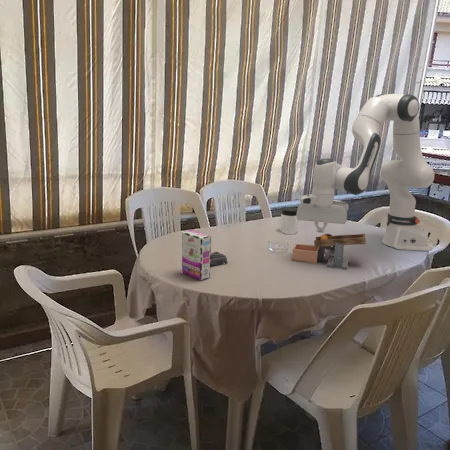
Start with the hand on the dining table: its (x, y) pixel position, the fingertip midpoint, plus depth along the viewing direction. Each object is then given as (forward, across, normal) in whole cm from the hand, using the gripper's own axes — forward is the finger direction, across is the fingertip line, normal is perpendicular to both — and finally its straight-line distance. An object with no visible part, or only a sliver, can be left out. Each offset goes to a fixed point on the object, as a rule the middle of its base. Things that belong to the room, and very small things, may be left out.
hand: (320, 232), depth 191 cm
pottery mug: (+13, -2, -17) cm, 22 cm away
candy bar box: (+12, +42, +34) cm, 56 cm away
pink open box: (+12, +5, 0) cm, 13 cm away
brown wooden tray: (+4, -8, 0) cm, 9 cm away
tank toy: (+12, +41, +19) cm, 47 cm away
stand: (+12, -6, +1) cm, 14 cm away
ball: (+2, -2, 0) cm, 3 cm away
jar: (+13, +19, -38) cm, 44 cm away
